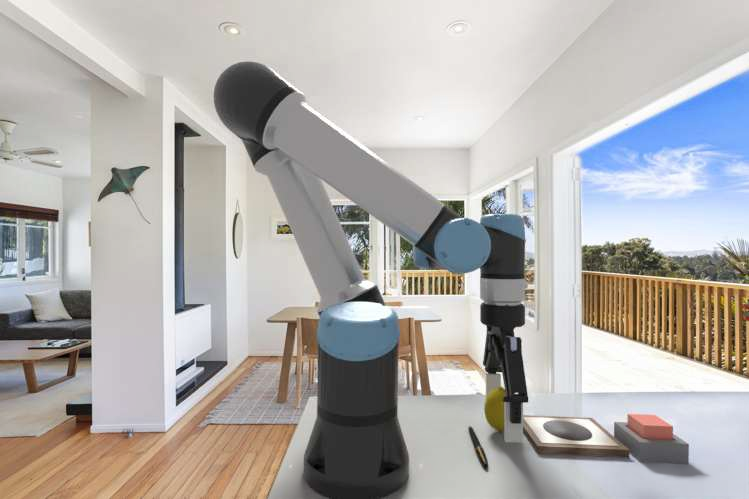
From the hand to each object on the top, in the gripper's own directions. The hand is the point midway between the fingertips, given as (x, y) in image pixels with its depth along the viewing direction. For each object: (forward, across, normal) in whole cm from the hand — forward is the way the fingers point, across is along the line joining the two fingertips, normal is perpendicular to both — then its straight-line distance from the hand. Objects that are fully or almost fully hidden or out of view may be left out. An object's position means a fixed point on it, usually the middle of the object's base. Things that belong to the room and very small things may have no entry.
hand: (502, 423), depth 70 cm
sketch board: (+2, -1, -11) cm, 11 cm away
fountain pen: (+2, -6, +6) cm, 8 cm away
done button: (-1, -5, -22) cm, 23 cm away
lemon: (+2, 0, 0) cm, 2 cm away
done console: (+2, -4, -22) cm, 23 cm away
